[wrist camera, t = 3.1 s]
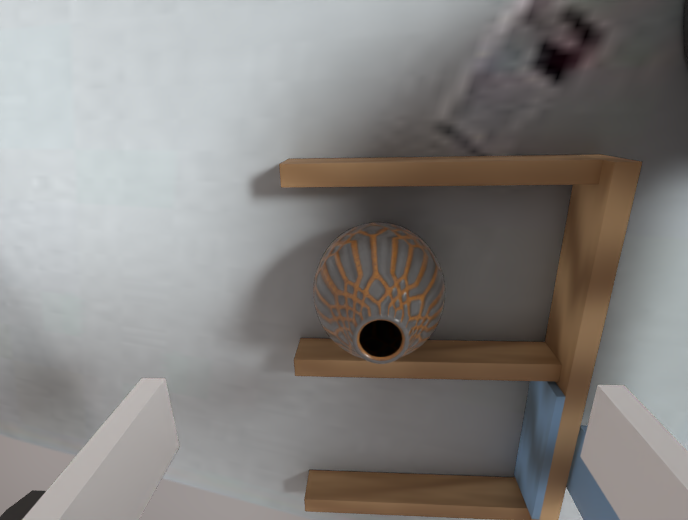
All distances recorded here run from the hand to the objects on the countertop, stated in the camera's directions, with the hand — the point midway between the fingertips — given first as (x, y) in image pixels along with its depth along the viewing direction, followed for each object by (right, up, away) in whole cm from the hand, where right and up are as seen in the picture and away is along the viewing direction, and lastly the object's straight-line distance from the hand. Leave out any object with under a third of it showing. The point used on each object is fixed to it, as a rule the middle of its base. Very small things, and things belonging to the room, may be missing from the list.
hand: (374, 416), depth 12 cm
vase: (+1, +5, +13) cm, 13 cm away
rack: (+5, -1, +14) cm, 15 cm away
